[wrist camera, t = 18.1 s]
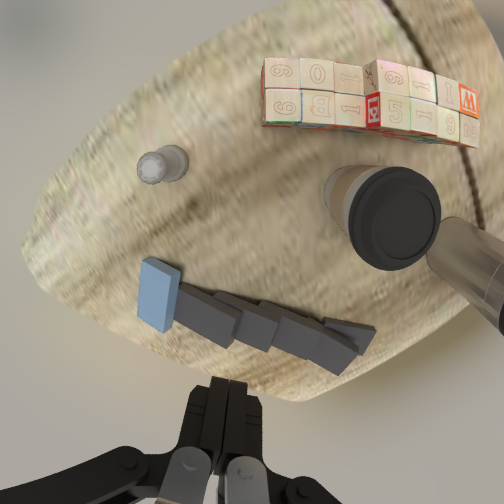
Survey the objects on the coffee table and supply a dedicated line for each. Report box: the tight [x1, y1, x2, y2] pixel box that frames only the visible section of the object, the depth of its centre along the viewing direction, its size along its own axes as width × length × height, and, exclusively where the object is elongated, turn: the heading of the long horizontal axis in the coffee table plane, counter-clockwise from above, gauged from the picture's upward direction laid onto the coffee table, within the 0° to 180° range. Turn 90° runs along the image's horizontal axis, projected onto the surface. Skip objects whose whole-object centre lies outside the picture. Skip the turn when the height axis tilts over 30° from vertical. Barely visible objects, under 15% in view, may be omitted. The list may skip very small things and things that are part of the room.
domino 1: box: [173, 282, 243, 349], centre depth 36 cm, size 2×5×9 cm
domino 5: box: [321, 317, 377, 356], centre depth 41 cm, size 2×5×9 cm
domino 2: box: [213, 290, 282, 352], centre depth 37 cm, size 2×5×9 cm
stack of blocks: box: [261, 57, 480, 148], centre depth 24 cm, size 21×6×12 cm, turn 90°
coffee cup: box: [324, 166, 441, 271], centre depth 27 cm, size 9×9×15 cm
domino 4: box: [307, 316, 359, 376], centre depth 39 cm, size 2×5×9 cm
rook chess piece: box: [137, 145, 188, 185], centre depth 28 cm, size 4×4×8 cm
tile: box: [137, 257, 181, 333], centre depth 36 cm, size 2×5×9 cm
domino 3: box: [258, 300, 323, 360], centre depth 38 cm, size 2×5×9 cm
